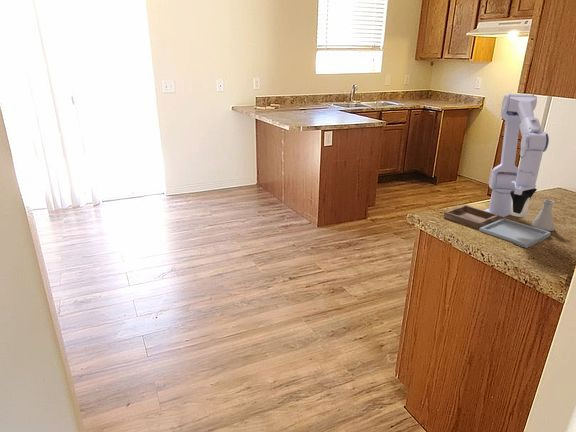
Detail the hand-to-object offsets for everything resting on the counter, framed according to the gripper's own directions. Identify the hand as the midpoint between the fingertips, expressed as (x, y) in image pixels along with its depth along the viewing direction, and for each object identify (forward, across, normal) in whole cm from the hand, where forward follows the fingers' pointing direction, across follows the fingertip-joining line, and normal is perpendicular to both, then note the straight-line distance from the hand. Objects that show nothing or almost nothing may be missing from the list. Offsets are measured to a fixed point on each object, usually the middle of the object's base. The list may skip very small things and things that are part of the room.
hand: (519, 210), depth 138 cm
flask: (+9, -13, +6) cm, 17 cm away
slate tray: (+8, 0, 0) cm, 8 cm away
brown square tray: (+8, -3, -16) cm, 18 cm away
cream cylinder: (+1, 0, 0) cm, 1 cm away
